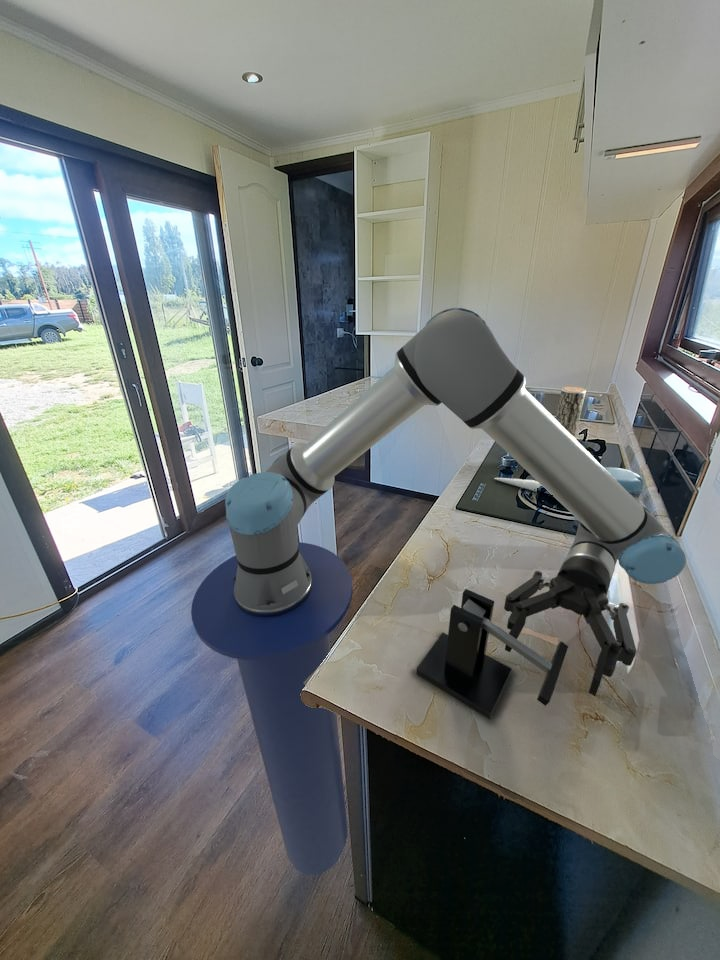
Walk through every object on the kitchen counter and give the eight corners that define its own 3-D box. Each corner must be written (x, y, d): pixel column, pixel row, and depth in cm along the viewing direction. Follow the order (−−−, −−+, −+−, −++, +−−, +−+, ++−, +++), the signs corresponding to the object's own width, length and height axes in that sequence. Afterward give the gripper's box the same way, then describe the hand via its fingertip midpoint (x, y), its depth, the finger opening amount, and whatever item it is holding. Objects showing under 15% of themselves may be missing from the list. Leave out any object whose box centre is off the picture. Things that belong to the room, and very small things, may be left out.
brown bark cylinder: (557, 456, 135) (573, 385, 123) (573, 464, 129) (591, 390, 118) (542, 460, 133) (556, 388, 121) (557, 467, 127) (574, 392, 116)
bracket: (510, 673, 61) (526, 604, 54) (489, 719, 54) (504, 647, 48) (442, 637, 67) (448, 571, 61) (416, 674, 61) (419, 605, 54)
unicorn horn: (498, 475, 123) (500, 462, 121) (579, 498, 109) (583, 483, 106) (492, 480, 120) (494, 467, 118) (574, 505, 106) (578, 490, 103)
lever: (562, 652, 54) (571, 643, 52) (543, 708, 47) (552, 699, 45) (474, 593, 60) (479, 583, 58) (444, 635, 53) (450, 625, 51)
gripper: (658, 620, 61) (642, 735, 46) (515, 566, 74) (466, 642, 59) (673, 584, 58) (662, 695, 43) (522, 534, 71) (471, 606, 56)
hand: (549, 664), depth 51 cm, fingers open, 10 cm apart
